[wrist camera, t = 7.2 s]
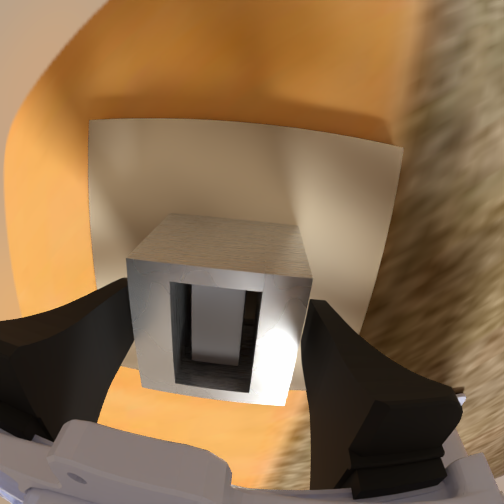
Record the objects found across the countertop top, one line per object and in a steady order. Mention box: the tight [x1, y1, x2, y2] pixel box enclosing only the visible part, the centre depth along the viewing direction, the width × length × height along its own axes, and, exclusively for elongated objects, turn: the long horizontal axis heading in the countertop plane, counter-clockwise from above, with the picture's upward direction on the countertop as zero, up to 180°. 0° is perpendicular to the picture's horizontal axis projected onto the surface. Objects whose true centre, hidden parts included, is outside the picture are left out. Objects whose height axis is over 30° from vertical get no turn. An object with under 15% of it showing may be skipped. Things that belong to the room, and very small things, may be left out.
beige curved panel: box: [88, 118, 404, 390], centre depth 14 cm, size 14×14×5 cm
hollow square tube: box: [126, 213, 313, 406], centre depth 13 cm, size 6×6×5 cm
